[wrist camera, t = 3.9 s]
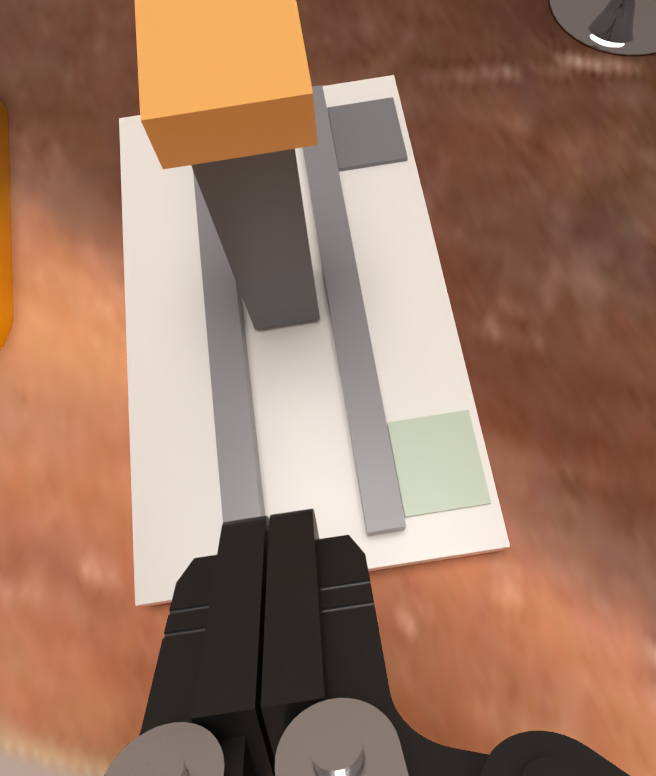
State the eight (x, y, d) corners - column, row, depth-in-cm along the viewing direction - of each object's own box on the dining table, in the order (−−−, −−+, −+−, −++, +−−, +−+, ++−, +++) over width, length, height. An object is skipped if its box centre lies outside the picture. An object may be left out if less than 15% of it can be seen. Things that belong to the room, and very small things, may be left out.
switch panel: (151, 605, 21) (123, 605, 18) (131, 143, 27) (110, 100, 25) (499, 551, 20) (517, 543, 18) (392, 102, 27) (395, 55, 25)
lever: (242, 344, 22) (140, 120, 12) (233, 263, 23) (134, -2, 13) (335, 329, 22) (312, 92, 12) (322, 249, 23) (291, -27, 13)
